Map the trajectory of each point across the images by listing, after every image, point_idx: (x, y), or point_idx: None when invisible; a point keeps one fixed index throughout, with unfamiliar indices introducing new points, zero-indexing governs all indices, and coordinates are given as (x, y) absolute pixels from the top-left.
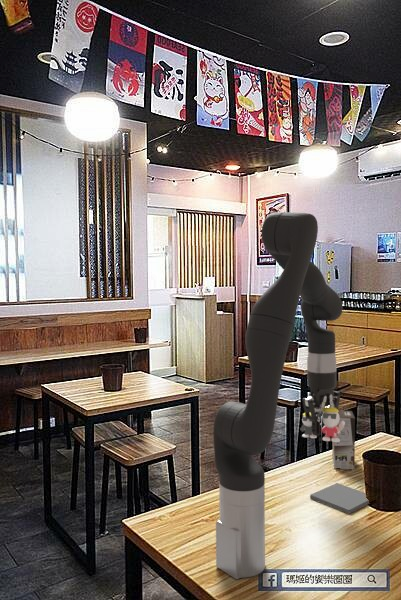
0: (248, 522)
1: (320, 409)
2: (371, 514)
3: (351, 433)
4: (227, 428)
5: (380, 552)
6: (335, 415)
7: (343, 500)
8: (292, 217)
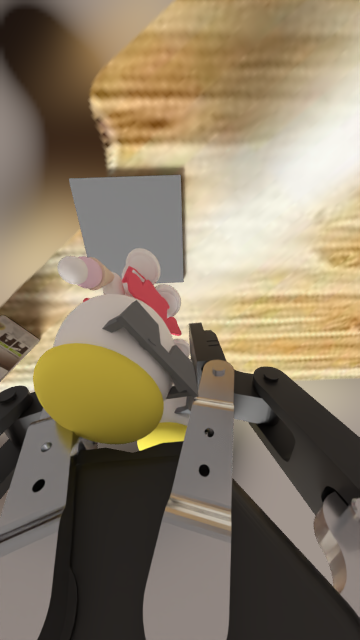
0: None
1: (232, 428)
2: (140, 134)
3: None
4: None
5: None
6: (133, 315)
7: (151, 218)
8: None
